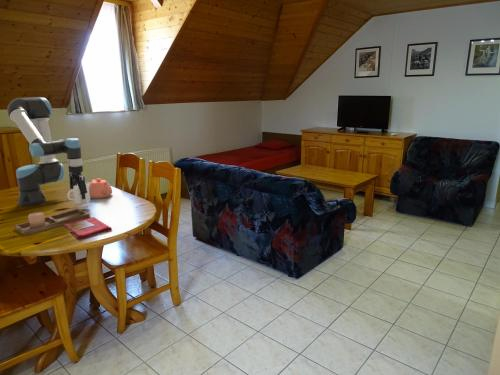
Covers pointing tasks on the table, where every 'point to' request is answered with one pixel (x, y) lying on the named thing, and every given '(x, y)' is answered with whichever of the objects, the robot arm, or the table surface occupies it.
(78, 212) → the caddy
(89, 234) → the dish towel
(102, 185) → the teapot
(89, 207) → the table surface
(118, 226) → the table surface
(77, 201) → the mug
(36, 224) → the peach rounded cylinder
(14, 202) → the table surface
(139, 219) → the table surface
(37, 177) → the robot arm
